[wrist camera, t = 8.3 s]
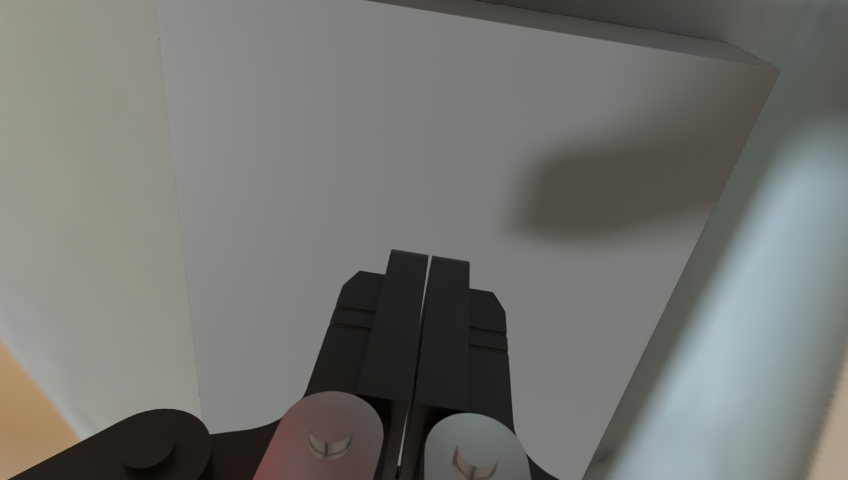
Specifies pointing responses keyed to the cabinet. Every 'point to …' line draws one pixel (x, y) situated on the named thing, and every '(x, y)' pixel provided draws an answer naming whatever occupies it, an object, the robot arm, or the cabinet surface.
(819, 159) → the cabinet surface
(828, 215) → the cabinet surface
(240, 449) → the robot arm
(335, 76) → the board
